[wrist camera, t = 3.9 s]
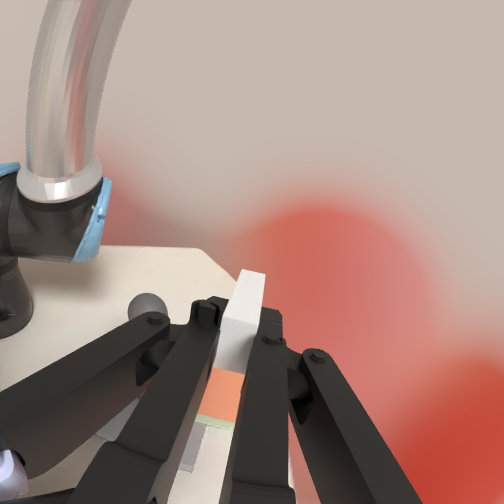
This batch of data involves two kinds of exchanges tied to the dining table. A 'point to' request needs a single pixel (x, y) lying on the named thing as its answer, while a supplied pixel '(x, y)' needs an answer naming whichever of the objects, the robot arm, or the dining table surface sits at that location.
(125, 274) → the dining table surface
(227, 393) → the lever
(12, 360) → the dining table surface
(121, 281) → the dining table surface
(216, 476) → the dining table surface
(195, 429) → the grey flat block
